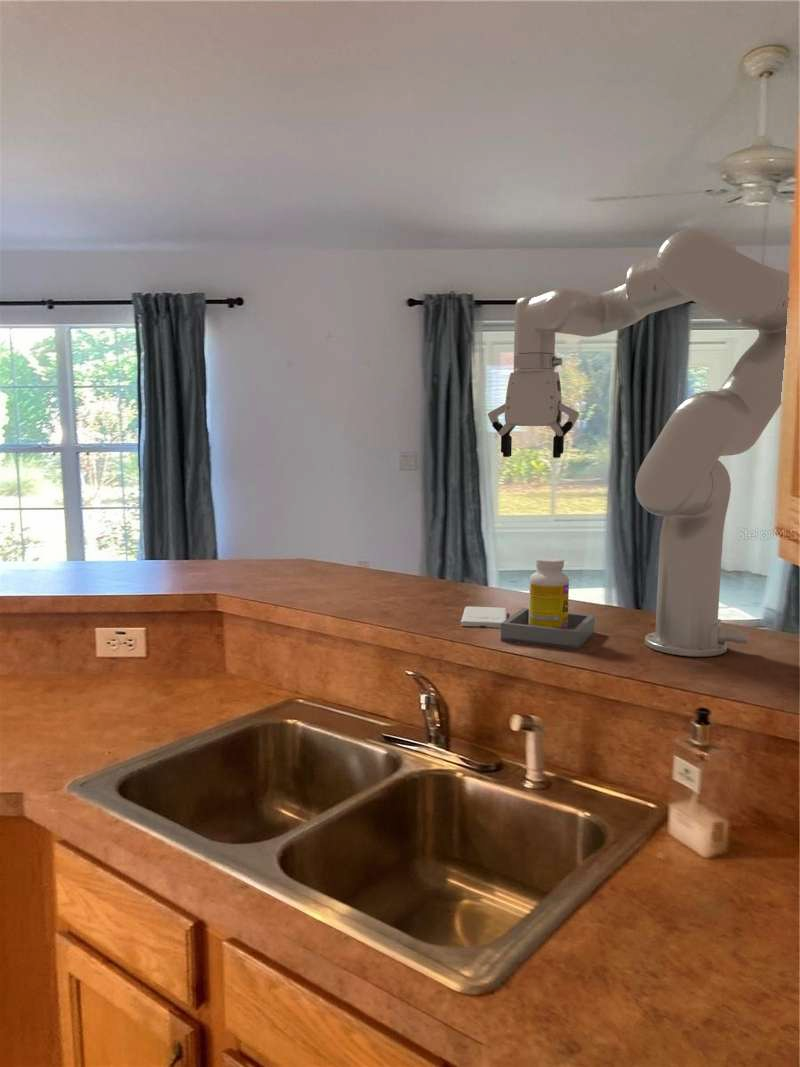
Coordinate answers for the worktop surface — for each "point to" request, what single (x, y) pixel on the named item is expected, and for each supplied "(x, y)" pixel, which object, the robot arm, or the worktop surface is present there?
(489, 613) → the external hard drive
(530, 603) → the supplement bottle
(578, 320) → the robot arm
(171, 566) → the worktop surface
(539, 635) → the tray
